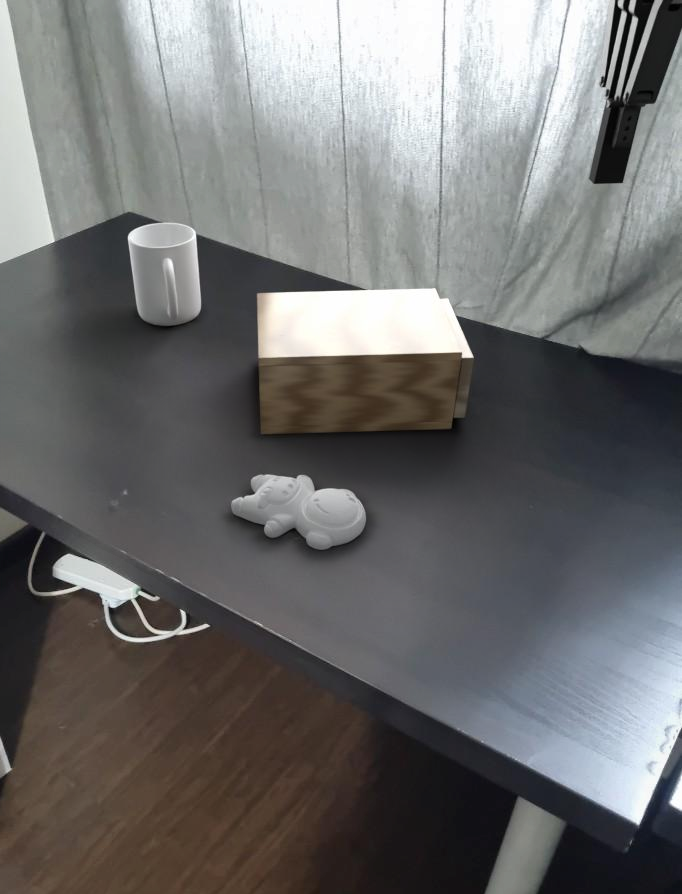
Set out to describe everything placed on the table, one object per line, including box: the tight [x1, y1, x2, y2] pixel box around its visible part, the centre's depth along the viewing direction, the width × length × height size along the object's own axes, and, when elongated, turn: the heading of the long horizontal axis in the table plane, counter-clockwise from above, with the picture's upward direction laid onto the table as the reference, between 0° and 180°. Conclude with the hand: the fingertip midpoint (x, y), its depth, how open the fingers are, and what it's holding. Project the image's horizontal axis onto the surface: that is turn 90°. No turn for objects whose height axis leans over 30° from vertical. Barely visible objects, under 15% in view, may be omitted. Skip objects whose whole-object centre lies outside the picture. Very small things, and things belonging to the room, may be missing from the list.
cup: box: [127, 222, 202, 327], centre depth 103 cm, size 8×12×10 cm
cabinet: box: [256, 287, 462, 435], centre depth 88 cm, size 20×15×9 cm
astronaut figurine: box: [230, 473, 367, 551], centre depth 74 cm, size 9×12×3 cm
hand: (605, 180), depth 77 cm, fingers closed
